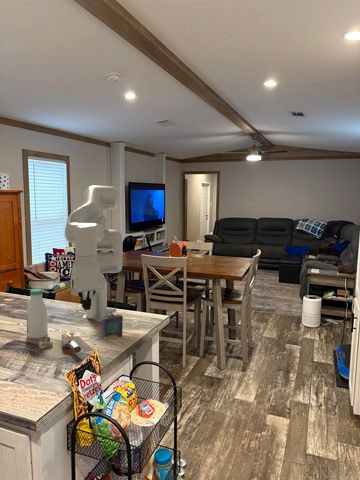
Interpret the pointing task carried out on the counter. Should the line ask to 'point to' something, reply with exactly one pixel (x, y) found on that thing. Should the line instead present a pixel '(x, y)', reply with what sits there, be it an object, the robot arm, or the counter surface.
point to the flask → (112, 325)
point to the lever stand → (56, 351)
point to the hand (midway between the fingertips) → (86, 308)
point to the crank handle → (69, 342)
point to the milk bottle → (36, 315)
